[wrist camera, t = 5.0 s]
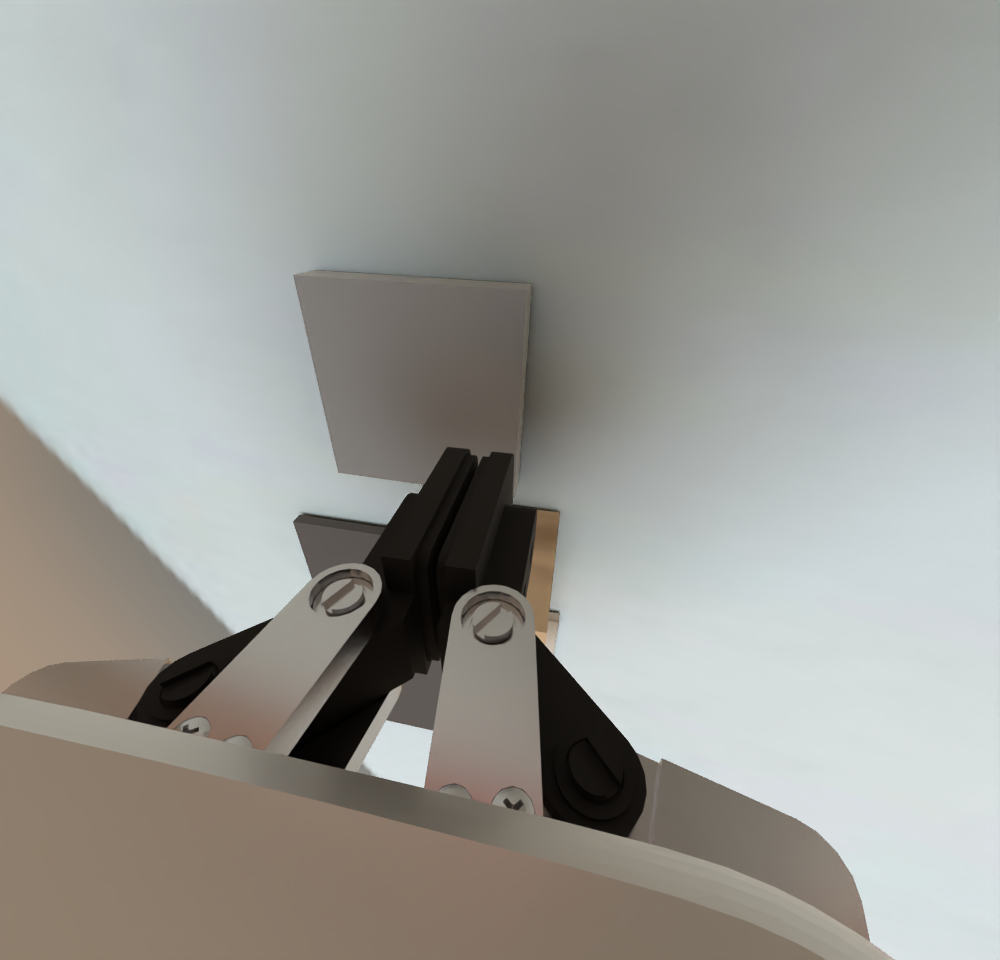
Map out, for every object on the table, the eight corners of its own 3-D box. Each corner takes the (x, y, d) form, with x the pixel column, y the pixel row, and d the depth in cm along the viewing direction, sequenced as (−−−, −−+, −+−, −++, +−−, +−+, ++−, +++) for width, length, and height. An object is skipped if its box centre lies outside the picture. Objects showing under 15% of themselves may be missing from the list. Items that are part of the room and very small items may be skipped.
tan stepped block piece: (470, 500, 19) (423, 611, 14) (576, 514, 19) (569, 637, 13) (473, 692, 29) (446, 801, 24) (543, 706, 28) (532, 822, 23)
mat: (299, 514, 22) (293, 521, 22) (442, 536, 21) (438, 544, 20) (360, 706, 33) (357, 713, 33) (455, 726, 32) (453, 734, 32)
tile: (533, 282, 14) (319, 269, 15) (526, 290, 13) (293, 274, 14) (519, 476, 18) (355, 454, 20) (514, 496, 17) (338, 472, 18)
